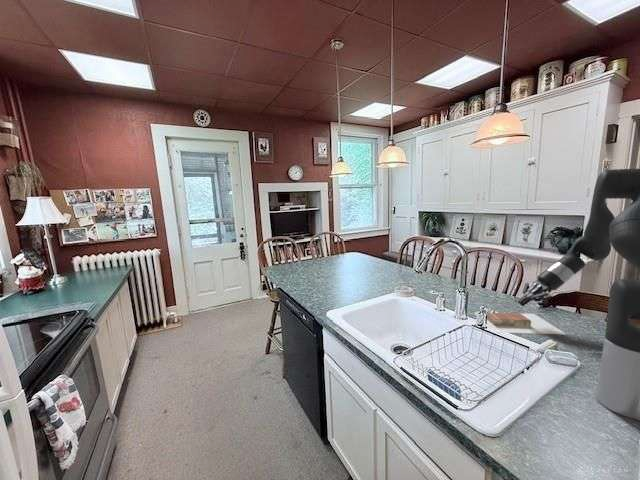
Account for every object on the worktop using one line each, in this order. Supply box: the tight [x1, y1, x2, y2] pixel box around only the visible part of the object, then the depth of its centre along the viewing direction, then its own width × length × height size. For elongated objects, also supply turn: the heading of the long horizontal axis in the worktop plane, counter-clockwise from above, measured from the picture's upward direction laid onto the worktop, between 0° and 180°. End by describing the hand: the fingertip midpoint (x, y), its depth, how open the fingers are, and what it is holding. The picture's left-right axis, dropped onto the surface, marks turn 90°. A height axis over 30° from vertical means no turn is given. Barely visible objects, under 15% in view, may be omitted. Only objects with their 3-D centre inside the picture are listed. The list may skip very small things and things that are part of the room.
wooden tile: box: [486, 312, 531, 327], centre depth 112 cm, size 3×7×14 cm
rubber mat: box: [473, 312, 567, 335], centre depth 112 cm, size 26×18×1 cm
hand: (519, 304), depth 110 cm, fingers closed
